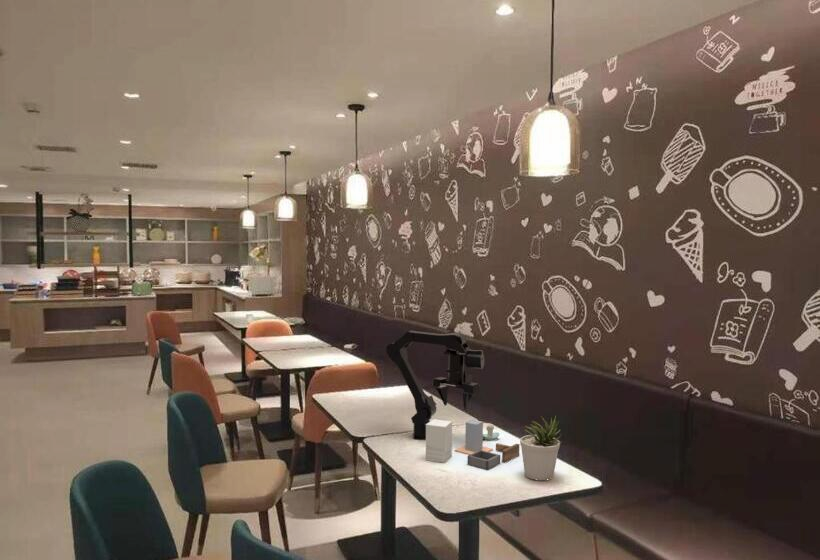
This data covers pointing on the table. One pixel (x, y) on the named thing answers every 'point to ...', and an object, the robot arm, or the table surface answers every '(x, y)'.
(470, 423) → the slate block
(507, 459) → the walnut bracket
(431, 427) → the supplement box
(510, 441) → the table surface
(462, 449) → the pad
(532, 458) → the potted plant
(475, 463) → the dark grey open box
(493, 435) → the pacifier
